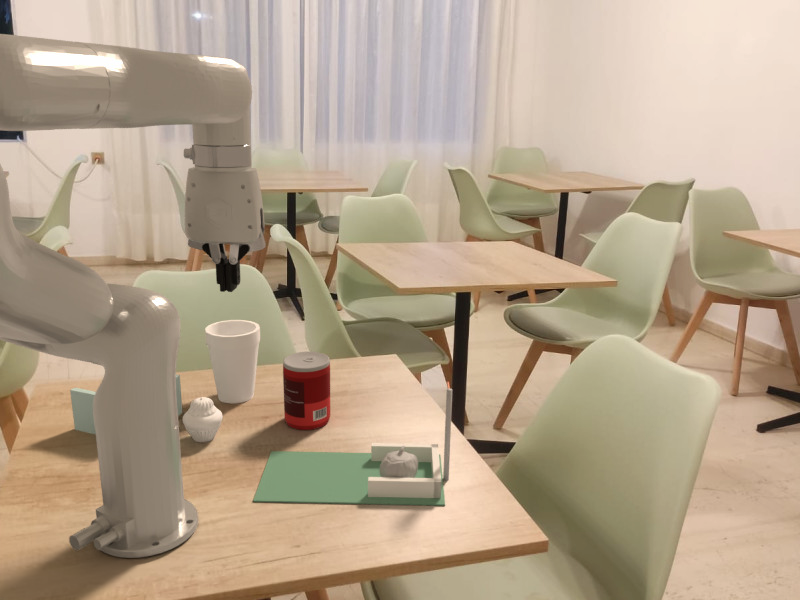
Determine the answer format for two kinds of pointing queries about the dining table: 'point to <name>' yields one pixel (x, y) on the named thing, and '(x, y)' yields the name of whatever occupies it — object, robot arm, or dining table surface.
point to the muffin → (202, 419)
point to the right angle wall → (84, 407)
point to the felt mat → (330, 479)
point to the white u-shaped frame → (423, 454)
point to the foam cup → (234, 358)
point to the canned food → (306, 390)
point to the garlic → (399, 464)
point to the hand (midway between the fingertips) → (228, 289)
